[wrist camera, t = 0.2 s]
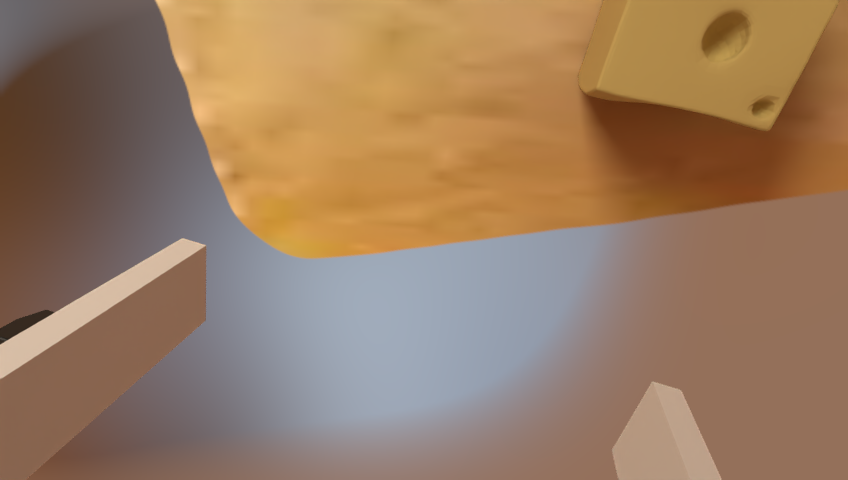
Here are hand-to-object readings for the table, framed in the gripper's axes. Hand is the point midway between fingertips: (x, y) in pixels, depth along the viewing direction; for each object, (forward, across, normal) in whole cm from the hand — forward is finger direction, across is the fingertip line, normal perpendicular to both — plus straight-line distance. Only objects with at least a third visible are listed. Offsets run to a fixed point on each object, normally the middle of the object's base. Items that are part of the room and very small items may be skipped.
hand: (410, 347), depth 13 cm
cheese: (+28, +10, +12) cm, 32 cm away
